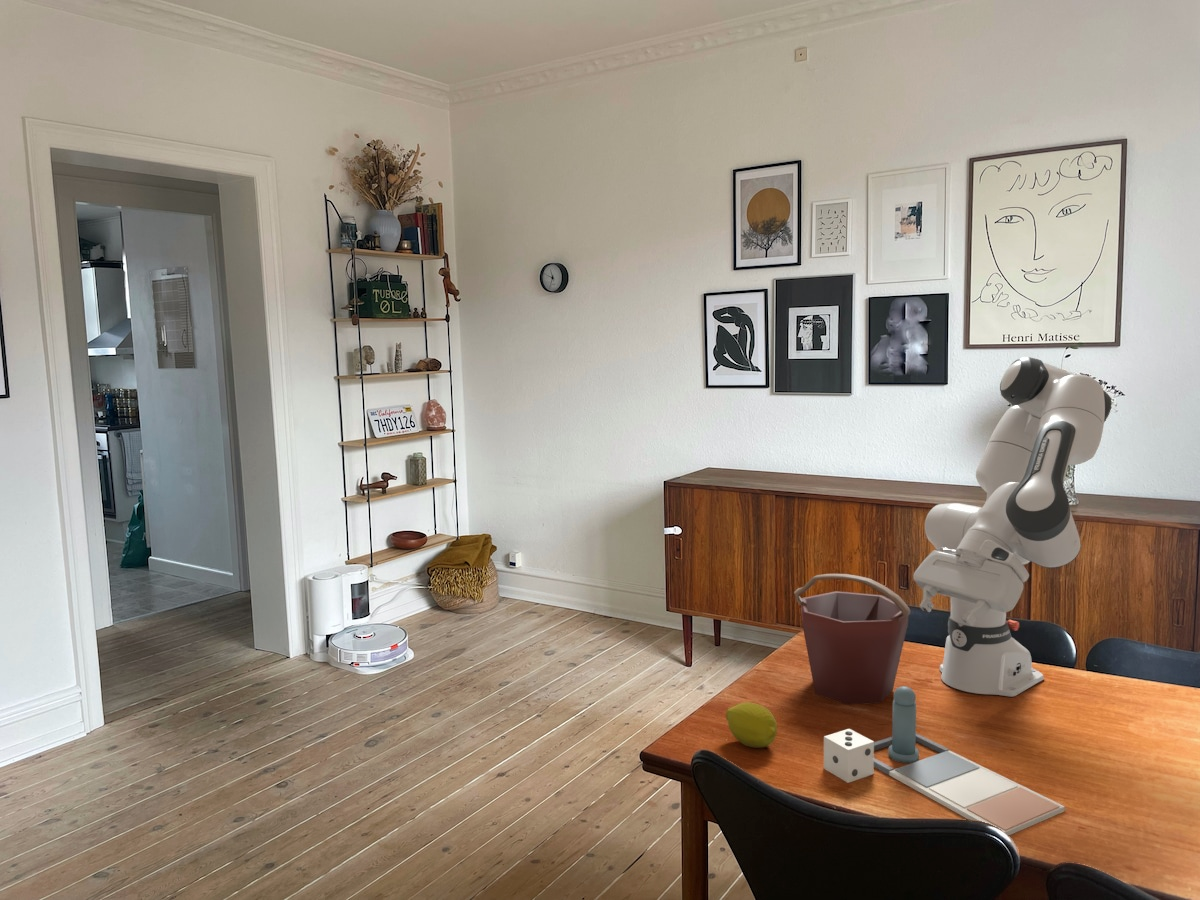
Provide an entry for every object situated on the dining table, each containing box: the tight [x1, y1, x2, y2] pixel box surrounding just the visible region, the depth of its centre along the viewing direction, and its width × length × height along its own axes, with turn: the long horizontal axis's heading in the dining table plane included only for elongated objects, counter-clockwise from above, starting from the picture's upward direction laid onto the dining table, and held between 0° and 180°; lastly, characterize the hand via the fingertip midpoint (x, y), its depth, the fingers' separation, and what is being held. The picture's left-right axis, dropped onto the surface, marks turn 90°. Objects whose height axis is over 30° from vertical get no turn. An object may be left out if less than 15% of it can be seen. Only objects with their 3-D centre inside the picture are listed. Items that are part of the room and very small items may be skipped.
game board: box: [874, 732, 1066, 837], centre depth 149 cm, size 15×32×1 cm, turn 28°
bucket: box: [793, 573, 911, 705], centre depth 188 cm, size 24×22×25 cm
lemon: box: [725, 701, 778, 749], centre depth 164 cm, size 11×8×8 cm
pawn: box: [888, 685, 920, 764], centre depth 158 cm, size 5×5×13 cm
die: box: [823, 728, 875, 784], centre depth 153 cm, size 6×6×6 cm
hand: (944, 616), depth 160 cm, fingers open, 8 cm apart
